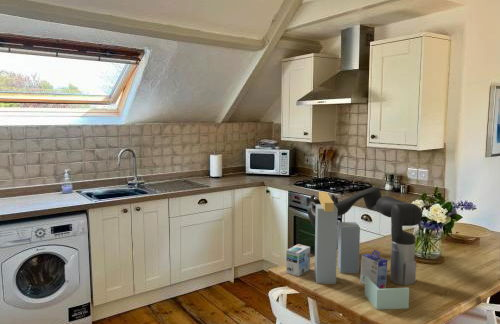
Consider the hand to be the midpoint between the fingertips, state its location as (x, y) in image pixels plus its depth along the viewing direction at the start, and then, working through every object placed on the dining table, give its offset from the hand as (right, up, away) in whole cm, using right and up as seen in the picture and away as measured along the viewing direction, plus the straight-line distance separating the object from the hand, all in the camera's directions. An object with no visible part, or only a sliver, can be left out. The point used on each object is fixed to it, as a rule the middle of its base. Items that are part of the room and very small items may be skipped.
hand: (323, 196), depth 176 cm
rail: (0, -3, -7) cm, 7 cm away
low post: (+12, -34, +5) cm, 36 cm away
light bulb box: (-11, -34, +4) cm, 36 cm away
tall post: (0, -35, -5) cm, 35 cm away
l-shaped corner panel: (+19, -38, -25) cm, 49 cm away
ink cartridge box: (+18, -36, -11) cm, 42 cm away
